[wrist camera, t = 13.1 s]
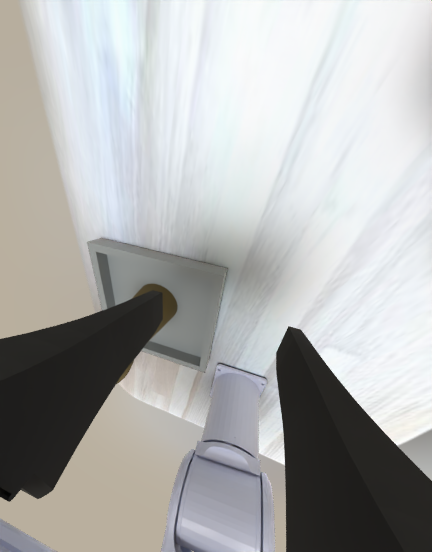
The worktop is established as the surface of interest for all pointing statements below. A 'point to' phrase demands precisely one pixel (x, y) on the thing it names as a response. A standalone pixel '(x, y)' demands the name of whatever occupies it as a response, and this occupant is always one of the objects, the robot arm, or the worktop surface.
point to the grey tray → (178, 280)
